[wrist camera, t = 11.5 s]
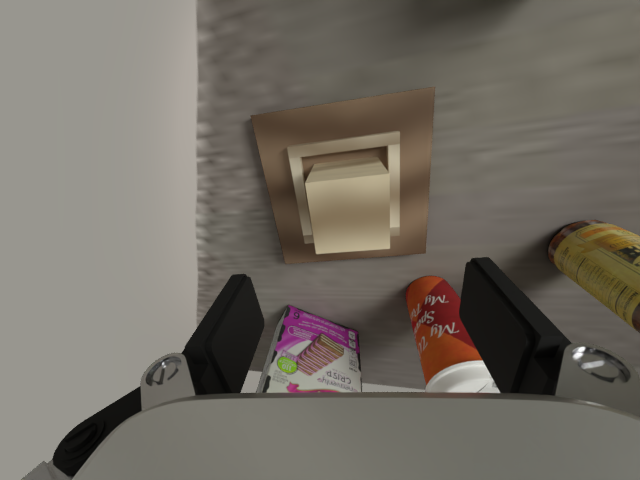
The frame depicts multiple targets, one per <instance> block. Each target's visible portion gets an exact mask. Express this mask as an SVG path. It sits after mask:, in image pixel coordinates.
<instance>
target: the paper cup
mask: <svg viewBox="0 0 640 480" xmlns="http://www.w3.org/2000/svg"><path fill="white" fill-rule="evenodd" d="M406 301H407V306H408V311H409V315H410V319H411V323H412V328H413V332H414V336H415V340H416V344H417V348H418V353H419V357H420V361H421V365H422V369H423V373H424V377H425V381H426V389H425V392H473V393H500V391H499V389H498V388H497V386H496V384H495V382H494V380H493V378H492V377H491V375H490V373H489V371H488V369H487V367H486V366H485V364H484V362H483V360H482V358H481V356H480V355H479V353H478V351H477V349H476V347H475V345H474V344H473V342H472V340H471V338H470V336H469V334H468V333H467V331H466V329H465V327H464V325H463V323H462V321H461V319H460V316H459V308H460V301H461V299H460V298H459V296H458V295H457V294H456V292H455V291H454V290H453V288H452V287H451V286H450V285H449V284H448V282H447V281H445V280H444V279H442V278H440V277H437V276H425V277H421V278H419V279H417V280H415V281H414V282H412V283H411V284H410V285H409V287H408V288H407V291H406Z"/></svg>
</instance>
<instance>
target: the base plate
mask: <svg viewBox="0 0 640 480" xmlns="http://www.w3.org/2000/svg"><path fill="white" fill-rule="evenodd" d="M434 96H435V87H429V88H423V89H416V90H410V91H404V92H397V93H391V94H385V95H378V96H372V97H366V98H359V99H353V100H347V101H340V102H334V103H328V104H321V105H315V106H309V107H302V108H296V109H290V110H283V111H277V112H271V113H264V114H258V115H252V116H251V120H252V124H253V128H254V132H255V137H256V141H257V145H258V150H259V154H260V158H261V162H262V167H263V171H264V175H265V179H266V184H267V188H268V192H269V197H270V201H271V205H272V209H273V214H274V218H275V222H276V226H277V231H278V235H279V239H280V243H281V248H282V252H283V256H284V261H285V264H292V263H305V262H319V261H332V260H345V259H358V258H371V257H385V256H398V255H411V254H424V253H426V237H427V219H428V202H429V184H430V167H431V149H432V131H433V114H434ZM370 157H378V158H379V160H380V161H381V162H382V164H383V165H384V167H385V168H386V169H387V171H388V172H389V173H390V249H380V250H366V251H352V252H338V253H325V254H316V250H315V244H314V237H313V231H312V225H311V218H310V212H309V206H308V199H307V193H306V186H305V182H306V180H307V178H308V176H309V174H310V172H311V170H312V168H313V166H314V164H319V163H328V162H336V161H345V160H353V159H362V158H370Z"/></svg>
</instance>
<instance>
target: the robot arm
mask: <svg viewBox="0 0 640 480" xmlns="http://www.w3.org/2000/svg"><path fill="white" fill-rule="evenodd" d="M459 316H460V319H461V321H462V323H463V325H464V327H465V329H466V331H467V333H468V334H469V336H470V338H471V340H472V342H473V344H474V345H475V347H476V349H477V351H478V353H479V355H480V356H481V358H482V360H483V362H484V364H485V366H486V367H487V369H488V371H489V373H490V375H491V377H492V378H493V380H494V382H495V384H496V386H497V388H498V389H499V391H500V393H473V392H299V393H240V392H241V389H242V387H243V384H244V381H245V378H246V375H247V373H248V370H249V367H250V365H251V362H252V359H253V356H254V353H255V351H256V348H257V345H258V342H259V340H260V337H261V334H262V331H263V328H264V318H263V315H262V312H261V309H260V306H259V302H258V299H257V296H256V293H255V290H254V287H253V284H252V281H251V278H250V277H247V275H246V274H237V275H232V276H231V277H230V279H229V280H228V282H227V283H226V285H225V286H224V288H223V289H222V291H221V292H220V294H219V295H218V297H217V298H216V300H215V302H214V303H213V305H212V306H211V308H210V309H209V311H208V312H207V314H206V315H205V317H204V318H203V320H202V321H201V323H200V324H199V326H198V327H197V329H196V331H195V332H194V333H193V335H192V337H191V338H190V340H189V341H188V343H187V344H186V346H185V349H184V351H183V352H182V353H171V354H168V355H165V356H163V357H161V358H159V359H158V360H156V361H155V362H154V363H152V364H151V365H150V366H149V367H148V369H147V370H146V371H145V372H144V374H143V376H142V378H141V383H140V385H141V386H140V387H138V388H137V389H135V390H134V391H132V392H130V393H128V394H127V395H125V396H124V397H122V398H120V399H119V400H117V401H115V402H114V403H112V404H110V405H109V406H107V407H106V408H104V409H102V410H101V411H99V412H97V413H96V414H94V415H93V416H91V417H89V418H88V419H86V420H84V421H83V422H82V423H80V424H79V425H77V426H76V427H75V428H74V429H72V430H71V431H70V432H69V433H68V434H67V435H66V436H65V438H64V439H63V440H62V441H61V442H60V444H59V445H58V447H57V449H56V450H55V453H54V456H53V459H52V460H51V461H50V462H49V463H46V462H45V461H43V462H42V463H40V464H39V465H38V466H37V467H36V468H34V469H33V470H32V471H31V472H30V473H28V474H27V475H26V476H25V477H23V478H22V479H21V480H640V378H639V375H638V372H637V371H636V370H635V369H634V367H633V366H632V365H631V364H630V363H628V362H627V361H626V360H625V359H624V358H622V357H620V356H619V355H617V354H615V353H614V352H612V351H610V350H607V349H605V348H603V347H600V346H597V345H593V344H589V343H581V342H580V343H571V342H570V341H569V340H568V339H567V338H566V337H565V336H564V335H563V334H562V333H561V332H560V331H559V330H558V329H557V327H556V326H555V325H554V324H553V323H552V322H551V321H550V320H549V319H548V318H547V317H546V316H545V315H544V314H543V313H542V312H541V311H540V310H539V309H538V308H537V307H536V306H535V304H534V303H533V302H532V301H531V300H530V299H529V298H528V297H527V296H526V295H525V294H524V293H523V292H522V291H521V290H519V288H518V287H517V286H516V285H515V284H514V283H513V282H512V281H511V280H510V279H509V278H508V277H507V276H506V275H505V274H504V273H503V272H502V271H501V270H500V269H499V267H498V266H497V265H496V264H495V263H494V262H493V261H492V260H491V259H490V258H488V257H483V258H472V259H471V261H470V262H467V263H466V267H465V274H464V281H463V288H462V294H461V301H460V308H459Z"/></svg>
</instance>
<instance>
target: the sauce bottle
mask: <svg viewBox="0 0 640 480" xmlns="http://www.w3.org/2000/svg"><path fill="white" fill-rule="evenodd" d="M548 248H549V249H548V257H549V259H550V261H551V262H552V263H554V264H555V265H556V266H557V268H558V269H559V270H560V271H562V272H563V273H564V274H565V275H567V276H568V277H569V278H570V279H572V280H573V281H574V282H576V283H577V284H578V285H579V286H581V287H582V288H583V289H584V290H586V291H587V292H588V293H590V294H591V295H592V296H593V297H595V298H596V299H597V300H598V301H600V302H601V303H602V304H604V305H605V306H606V307H607V308H609V309H610V310H611V311H612V312H614V313H615V314H616V315H617V316H619V317H620V318H621V319H622V320H624V321H625V322H626V323H628V324H629V325H630V326H631V327H633V328H634V329H635V330H636V331H638V332H639V333H640V236H638V235H636V234H633V233H631V232H629V231H627V230H624V229H622V228H620V227H618V226H615V225H611V224H607V223H604V222H602V221H598V220H587V221H581V222H578V223H573V224H570V225H568V226H566V227H564V228H563V229H562V230H561V231H560V232H559V233H558V234H557V235H556V236H554V238H553V239H552V241H551V242H550V245H549V247H548Z"/></svg>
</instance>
